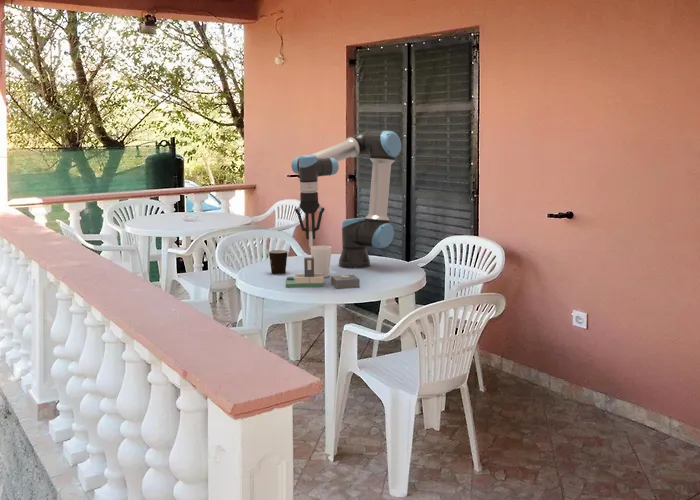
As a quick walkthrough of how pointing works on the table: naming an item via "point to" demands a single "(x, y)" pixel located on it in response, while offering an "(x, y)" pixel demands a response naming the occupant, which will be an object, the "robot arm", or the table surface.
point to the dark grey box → (345, 281)
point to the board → (291, 283)
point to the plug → (309, 267)
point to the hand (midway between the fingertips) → (311, 246)
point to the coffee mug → (278, 261)
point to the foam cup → (321, 259)
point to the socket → (309, 278)
